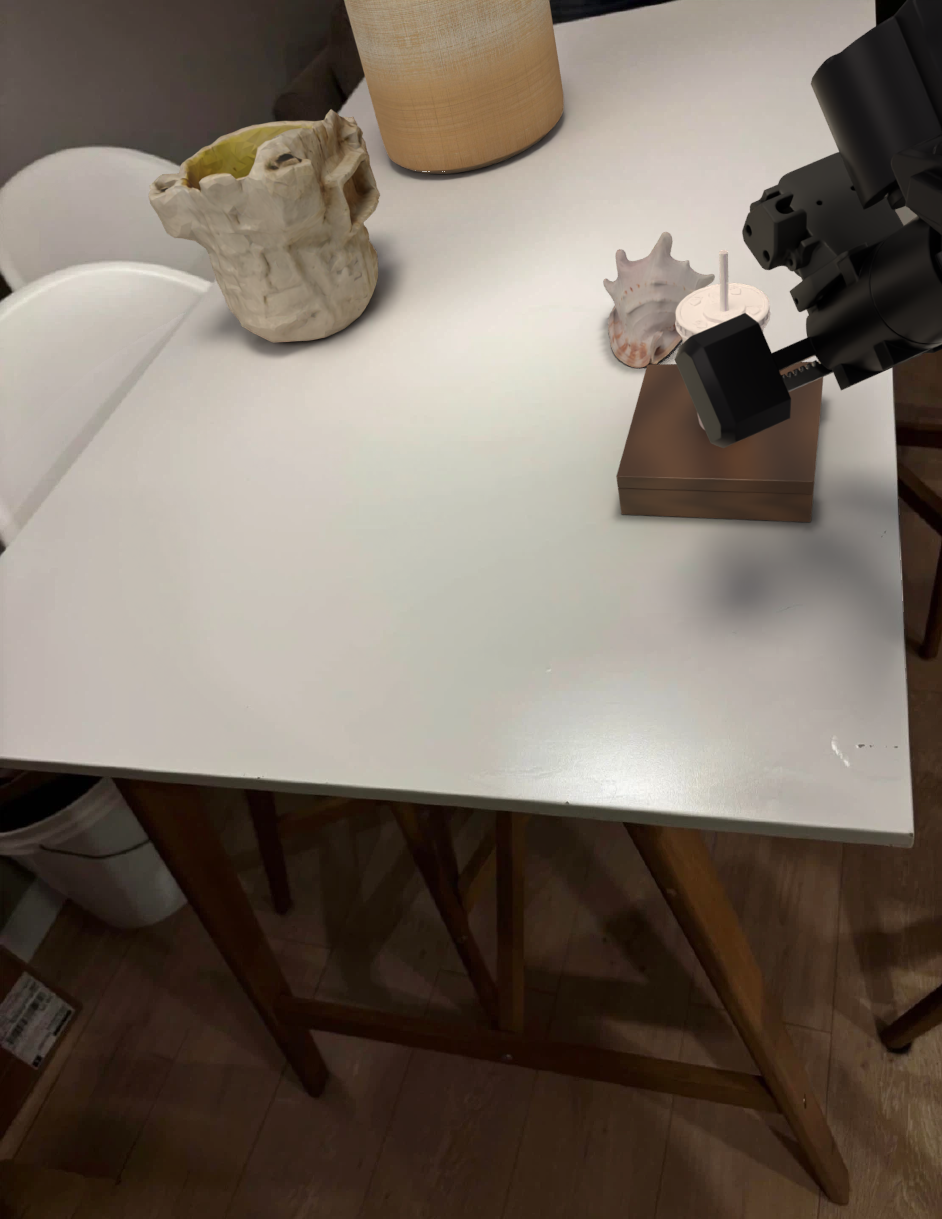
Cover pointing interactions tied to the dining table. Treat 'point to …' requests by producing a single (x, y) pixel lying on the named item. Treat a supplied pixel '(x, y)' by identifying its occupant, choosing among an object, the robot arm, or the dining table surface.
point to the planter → (458, 78)
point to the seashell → (649, 303)
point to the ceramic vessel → (281, 223)
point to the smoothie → (720, 305)
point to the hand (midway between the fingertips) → (782, 371)
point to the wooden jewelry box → (717, 458)
